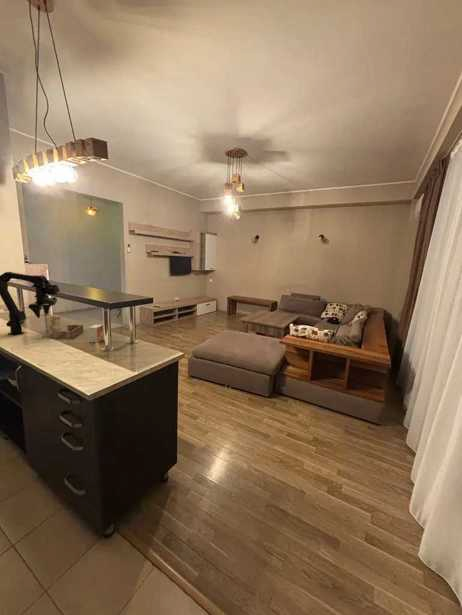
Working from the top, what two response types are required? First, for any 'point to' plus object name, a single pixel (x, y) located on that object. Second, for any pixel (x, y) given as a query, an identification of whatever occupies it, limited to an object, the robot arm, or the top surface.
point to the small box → (95, 333)
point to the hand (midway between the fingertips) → (42, 316)
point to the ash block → (54, 324)
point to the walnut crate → (70, 332)
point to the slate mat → (49, 335)
